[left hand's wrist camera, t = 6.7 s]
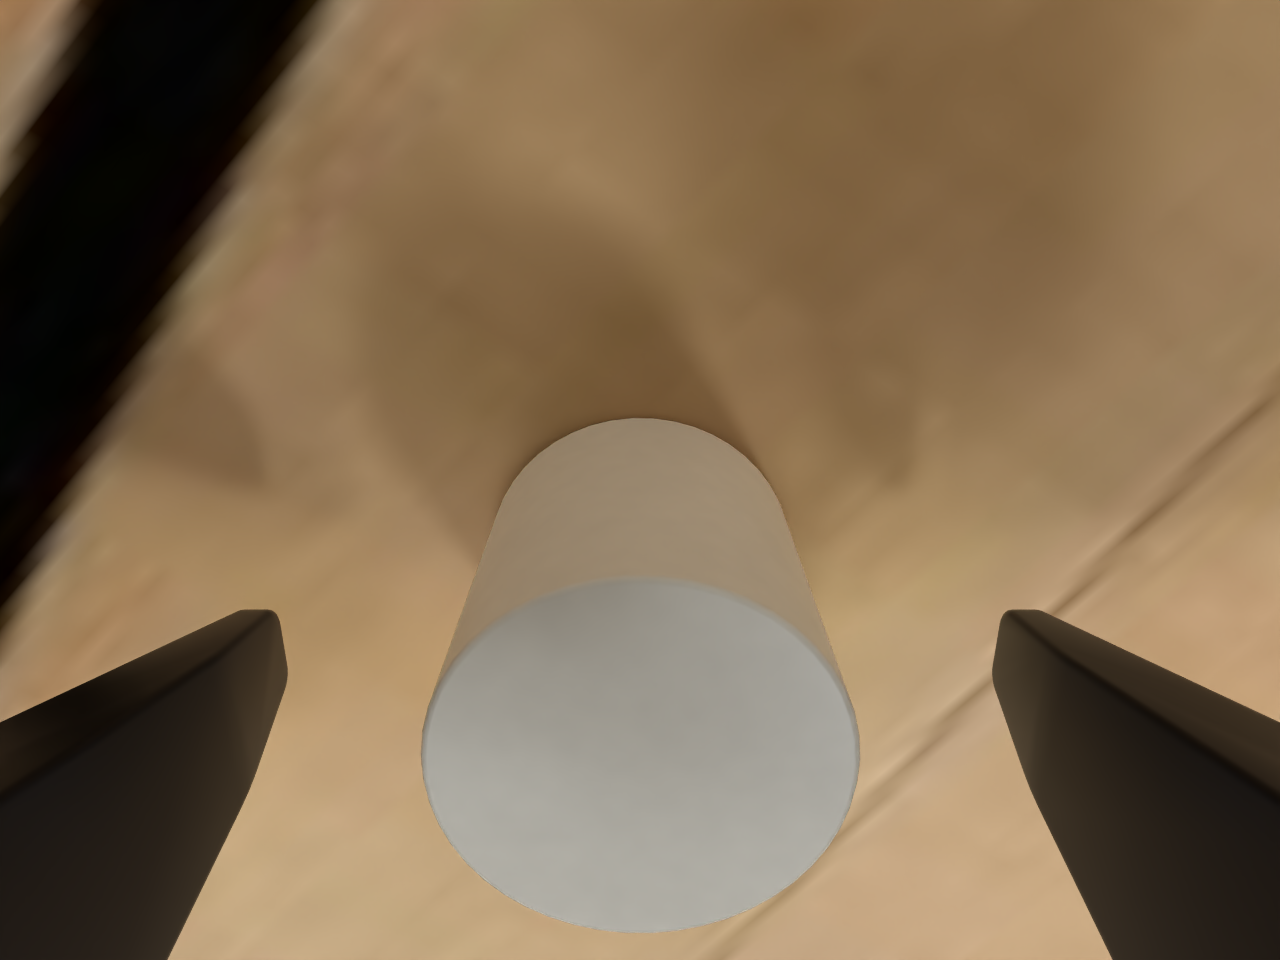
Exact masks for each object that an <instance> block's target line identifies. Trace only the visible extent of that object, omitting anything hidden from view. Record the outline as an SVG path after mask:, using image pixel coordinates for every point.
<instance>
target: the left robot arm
mask: <svg viewBox="0 0 1280 960" xmlns="http://www.w3.org/2000/svg"><path fill="white" fill-rule="evenodd" d="M287 676H288V668H287V661H286V656H285V650H284V644H283V638H282V632H281V626H280V621H279V619H278V616H277V614H276V613H275V612H273V611H272V610H240V611H237V612H235V613H233V614H231V615H229V616H227V617H225V618H222V619H220V620H218V621H216V622H214V623H212V624H210V625H207V626H205V627H203V628H201V629H199V630H197V631H195V632H192V633H190V634H188V635H186V636H184V637H182V638H180V639H178V640H175V641H173V642H171V643H169V644H167V645H165V646H163V647H160V648H158V649H156V650H154V651H152V652H150V653H148V654H145V655H143V656H141V657H139V658H137V659H135V660H133V661H131V662H128V663H126V664H124V665H122V666H120V667H118V668H116V669H113V670H111V671H109V672H107V673H105V674H103V675H101V676H98V677H96V678H94V679H92V680H90V681H88V682H86V683H84V684H81V685H79V686H77V687H75V688H73V689H71V690H69V691H66V692H64V693H62V694H60V695H58V696H56V697H54V698H51V699H49V700H47V701H45V702H43V703H41V704H39V705H37V706H34V707H32V708H30V709H28V710H26V711H24V712H22V713H19V714H17V715H15V716H13V717H11V718H9V719H7V720H4V721H2V722H0V960H167V959H168V957H169V955H170V953H171V951H172V949H173V947H174V945H175V943H176V941H177V939H178V937H179V935H180V933H181V931H182V929H183V927H184V924H185V922H186V920H187V918H188V916H189V914H190V912H191V910H192V908H193V906H194V904H195V902H196V900H197V898H198V896H199V894H200V892H201V889H202V887H203V885H204V883H205V881H206V879H207V877H208V875H209V873H210V871H211V869H212V867H213V865H214V863H215V861H216V859H217V857H218V855H219V852H220V850H221V848H222V846H223V844H224V842H225V840H226V838H227V836H228V834H229V832H230V830H231V828H232V826H233V824H234V822H235V820H236V818H237V815H238V813H239V811H240V809H241V807H242V805H243V803H244V801H245V798H246V796H247V794H248V792H249V790H250V787H251V784H252V782H253V779H254V777H255V774H256V771H257V768H258V765H259V763H260V760H261V757H262V754H263V751H264V748H265V745H266V742H267V740H268V737H269V734H270V731H271V728H272V725H273V722H274V719H275V716H276V714H277V711H278V708H279V705H280V702H281V699H282V696H283V693H284V690H285V687H286V683H287ZM992 676H993V683H994V687H995V690H996V693H997V696H998V699H999V702H1000V705H1001V708H1002V711H1003V714H1004V716H1005V719H1006V722H1007V725H1008V728H1009V731H1010V734H1011V737H1012V740H1013V742H1014V745H1015V748H1016V751H1017V754H1018V757H1019V760H1020V763H1021V765H1022V768H1023V771H1024V774H1025V777H1026V779H1027V782H1028V784H1029V787H1030V790H1031V792H1032V794H1033V796H1034V798H1035V801H1036V803H1037V805H1038V807H1039V809H1040V811H1041V813H1042V815H1043V818H1044V820H1045V822H1046V824H1047V826H1048V828H1049V830H1050V832H1051V834H1052V836H1053V838H1054V840H1055V842H1056V844H1057V846H1058V848H1059V850H1060V852H1061V855H1062V857H1063V859H1064V861H1065V863H1066V865H1067V867H1068V869H1069V871H1070V873H1071V875H1072V877H1073V879H1074V881H1075V883H1076V885H1077V887H1078V890H1079V892H1080V894H1081V896H1082V898H1083V900H1084V902H1085V904H1086V906H1087V908H1088V910H1089V912H1090V914H1091V916H1092V918H1093V920H1094V922H1095V924H1096V927H1097V929H1098V931H1099V933H1100V935H1101V937H1102V939H1103V941H1104V943H1105V945H1106V947H1107V949H1108V951H1109V953H1110V955H1111V957H1112V959H1113V960H1280V722H1278V721H1276V720H1273V719H1271V718H1269V717H1267V716H1265V715H1263V714H1261V713H1258V712H1256V711H1254V710H1252V709H1250V708H1248V707H1246V706H1243V705H1241V704H1239V703H1237V702H1235V701H1233V700H1231V699H1229V698H1226V697H1224V696H1222V695H1220V694H1218V693H1216V692H1214V691H1211V690H1209V689H1207V688H1205V687H1203V686H1201V685H1199V684H1196V683H1194V682H1192V681H1190V680H1188V679H1186V678H1184V677H1182V676H1179V675H1177V674H1175V673H1173V672H1171V671H1169V670H1167V669H1164V668H1162V667H1160V666H1158V665H1156V664H1154V663H1152V662H1149V661H1147V660H1145V659H1143V658H1141V657H1139V656H1137V655H1135V654H1132V653H1130V652H1128V651H1126V650H1124V649H1122V648H1120V647H1117V646H1115V645H1113V644H1111V643H1109V642H1107V641H1105V640H1102V639H1100V638H1098V637H1096V636H1094V635H1092V634H1090V633H1088V632H1085V631H1083V630H1081V629H1079V628H1077V627H1075V626H1073V625H1070V624H1068V623H1066V622H1064V621H1062V620H1060V619H1058V618H1055V617H1053V616H1051V615H1049V614H1047V613H1045V612H1043V611H1040V610H1008V611H1007V612H1005V613H1004V614H1003V616H1002V619H1001V621H1000V626H999V632H998V638H997V644H996V650H995V656H994V661H993V668H992Z"/></svg>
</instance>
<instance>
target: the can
mask: <svg viewBox="0 0 1280 960" xmlns="http://www.w3.org/2000/svg"><path fill="white" fill-rule="evenodd" d="M421 760H422V771H423V779H424V783H425V787H426V791H427V794H428V798H429V802H430V805H431V807H432V809H433V812H434V814H435V816H436V819H437V821H438V823H439V825H440V827H441V829H442V830H443V832H444V834H445V835H446V837H447V838H448V840H449V842H450V843H451V845H452V846H453V847H454V849H455V850H456V851H457V852H458V853H459V855H460V856H461V857H462V858H463V860H464V861H465V862H466V863H467V864H468V865H469V866H470V867H471V868H472V869H473V870H474V871H475V872H476V873H477V874H479V875H480V876H481V877H482V878H483V879H484V880H485V881H487V882H488V883H489V884H491V885H492V886H493V887H495V888H496V889H497V890H499V891H500V892H501V893H503V894H504V895H506V896H508V897H510V898H511V899H513V900H515V901H516V902H518V903H520V904H522V905H523V906H525V907H527V908H530V909H532V910H534V911H537V912H539V913H541V914H543V915H546V916H548V917H551V918H554V919H557V920H560V921H564V922H567V923H570V924H573V925H578V926H582V927H587V928H592V929H597V930H604V931H613V932H623V933H656V932H668V931H678V930H683V929H689V928H694V927H699V926H704V925H707V924H711V923H714V922H718V921H721V920H724V919H728V918H730V917H732V916H735V915H737V914H740V913H742V912H745V911H747V910H750V909H752V908H754V907H755V906H757V905H759V904H761V903H763V902H765V901H766V900H768V899H770V898H772V897H774V896H775V895H776V894H778V893H779V892H781V891H782V890H784V889H785V888H786V887H788V886H789V885H791V884H792V883H794V882H795V881H796V880H797V879H798V878H799V877H800V876H801V875H802V874H804V873H805V872H806V871H807V870H808V869H809V868H810V867H811V866H812V865H813V864H814V863H815V862H816V861H817V859H818V858H819V857H820V856H821V855H822V854H823V853H824V851H825V850H826V849H827V848H828V846H829V845H830V843H831V842H832V840H833V839H834V837H835V835H836V834H837V832H838V831H839V829H840V827H841V825H842V823H843V821H844V819H845V817H846V814H847V812H848V810H849V808H850V805H851V801H852V798H853V795H854V791H855V788H856V784H857V779H858V772H859V764H860V740H859V731H858V726H857V721H856V716H855V711H854V709H853V706H852V703H851V700H850V697H849V695H848V692H847V689H846V686H845V683H844V681H843V678H842V675H841V672H840V670H839V667H838V664H837V661H836V658H835V656H834V653H833V650H832V647H831V644H830V642H829V639H828V636H827V633H826V630H825V628H824V625H823V622H822V619H821V617H820V614H819V611H818V608H817V605H816V603H815V600H814V597H813V594H812V591H811V589H810V586H809V583H808V580H807V578H806V575H805V572H804V569H803V566H802V564H801V561H800V558H799V555H798V552H797V550H796V547H795V544H794V541H793V538H792V536H791V533H790V530H789V527H788V525H787V522H786V519H785V516H784V514H783V511H782V508H781V505H780V503H779V500H778V499H777V497H776V495H775V493H774V491H773V489H772V488H771V486H770V484H769V483H768V482H767V480H766V479H765V478H764V476H763V475H762V474H761V472H760V471H759V470H758V469H757V468H756V467H755V466H754V465H753V464H752V463H751V462H750V461H749V460H748V459H747V458H746V457H745V456H744V455H743V454H742V453H740V452H739V451H738V450H736V449H735V448H734V447H732V446H731V445H730V444H728V443H726V442H725V441H723V440H721V439H719V438H718V437H716V436H714V435H712V434H710V433H708V432H705V431H703V430H700V429H698V428H696V427H693V426H689V425H686V424H682V423H678V422H674V421H668V420H661V419H654V418H629V419H620V420H611V421H607V422H603V423H599V424H595V425H591V426H588V427H586V428H583V429H580V430H578V431H575V432H573V433H571V434H569V435H567V436H565V437H563V438H561V439H559V440H558V441H556V442H554V443H553V444H551V445H550V446H549V447H547V448H546V449H544V450H543V451H542V452H540V453H539V454H538V455H537V456H536V457H535V458H534V459H532V460H531V461H530V462H529V463H528V464H527V465H526V466H525V467H524V468H523V470H522V471H521V472H520V473H519V475H518V476H517V477H516V478H515V480H514V481H513V482H512V484H511V486H510V487H509V489H508V491H507V493H506V494H505V496H504V498H503V500H502V503H501V505H500V508H499V510H498V512H497V515H496V518H495V521H494V523H493V526H492V529H491V532H490V535H489V537H488V540H487V543H486V546H485V549H484V551H483V554H482V557H481V560H480V563H479V565H478V568H477V571H476V574H475V577H474V579H473V582H472V585H471V588H470V591H469V593H468V596H467V599H466V602H465V605H464V607H463V610H462V613H461V616H460V619H459V621H458V624H457V627H456V630H455V633H454V635H453V638H452V641H451V644H450V647H449V650H448V652H447V655H446V658H445V661H444V664H443V666H442V669H441V672H440V675H439V678H438V680H437V683H436V686H435V689H434V692H433V694H432V697H431V700H430V703H429V706H428V709H427V713H426V718H425V722H424V726H423V730H422V745H421Z"/></svg>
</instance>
